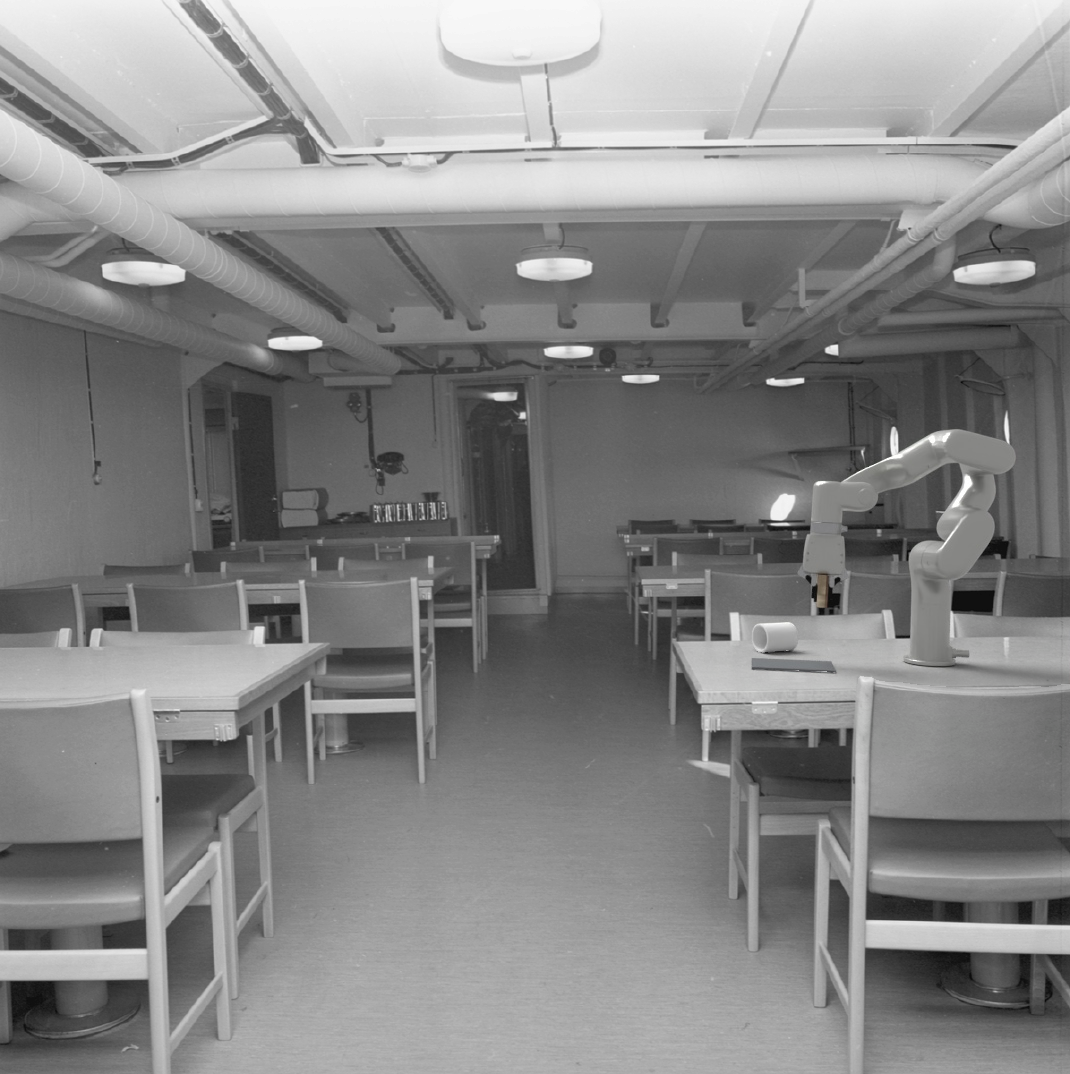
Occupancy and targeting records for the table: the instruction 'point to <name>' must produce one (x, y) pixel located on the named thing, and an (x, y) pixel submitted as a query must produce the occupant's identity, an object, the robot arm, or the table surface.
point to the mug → (774, 637)
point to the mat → (792, 665)
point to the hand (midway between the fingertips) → (821, 601)
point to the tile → (822, 590)
